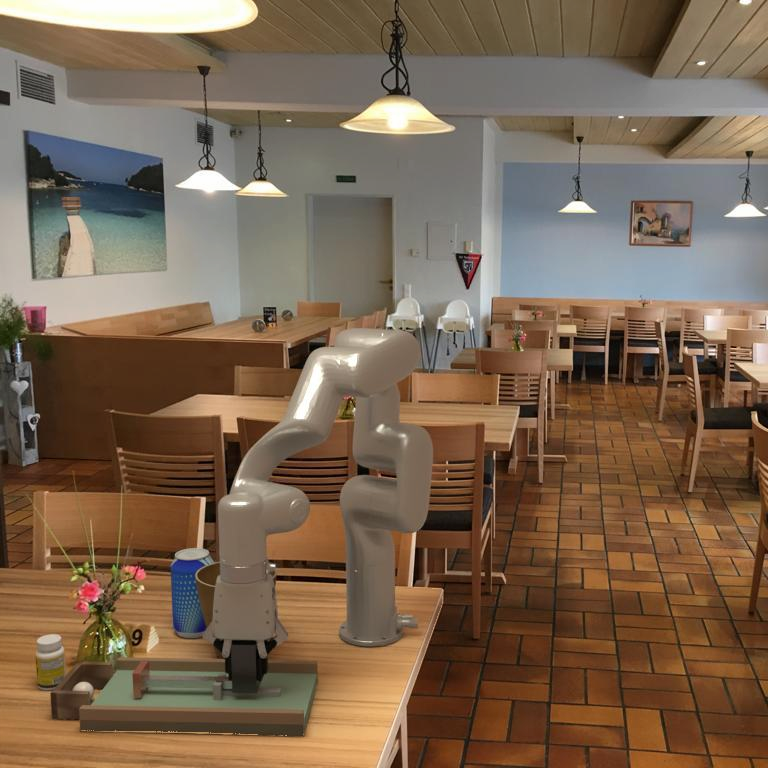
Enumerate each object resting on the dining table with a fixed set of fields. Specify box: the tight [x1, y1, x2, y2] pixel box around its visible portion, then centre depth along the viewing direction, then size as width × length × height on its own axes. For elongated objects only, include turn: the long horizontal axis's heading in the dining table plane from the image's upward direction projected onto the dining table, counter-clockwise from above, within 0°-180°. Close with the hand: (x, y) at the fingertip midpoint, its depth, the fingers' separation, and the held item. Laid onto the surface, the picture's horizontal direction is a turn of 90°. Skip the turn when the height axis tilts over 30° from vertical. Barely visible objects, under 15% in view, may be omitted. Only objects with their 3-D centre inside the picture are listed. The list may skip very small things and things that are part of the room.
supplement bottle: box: [34, 633, 67, 691], centre depth 152 cm, size 5×5×8 cm
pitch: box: [79, 656, 319, 737], centre depth 145 cm, size 35×18×5 cm, turn 87°
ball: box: [72, 682, 95, 701], centre depth 146 cm, size 4×4×4 cm
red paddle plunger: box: [132, 640, 261, 698], centre depth 144 cm, size 20×5×9 cm, turn 87°
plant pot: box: [195, 561, 278, 659], centre depth 163 cm, size 15×15×16 cm
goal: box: [50, 661, 114, 721], centre depth 146 cm, size 6×11×4 cm, turn 177°
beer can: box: [170, 547, 215, 639], centre depth 173 cm, size 8×8×16 cm
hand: (246, 676), depth 144 cm, fingers closed on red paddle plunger, 4 cm apart
